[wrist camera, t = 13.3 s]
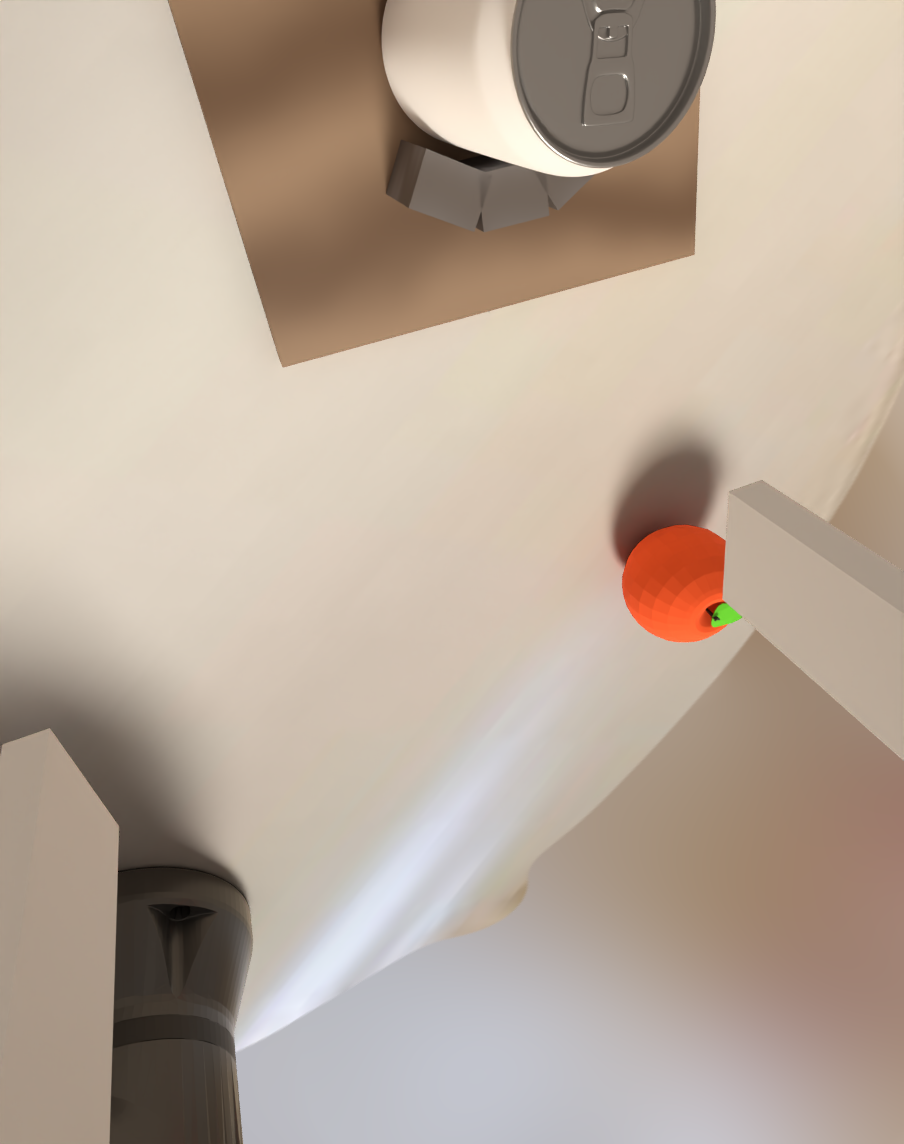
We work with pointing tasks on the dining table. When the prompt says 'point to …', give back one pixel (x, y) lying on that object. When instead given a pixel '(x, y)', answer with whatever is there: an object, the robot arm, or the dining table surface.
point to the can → (548, 75)
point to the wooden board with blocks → (398, 186)
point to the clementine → (678, 584)
